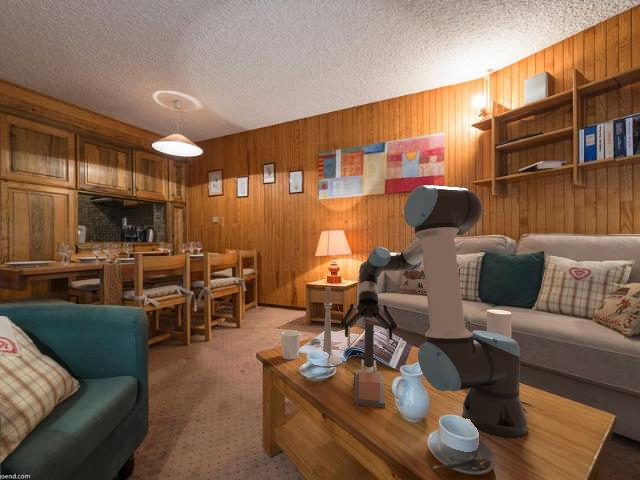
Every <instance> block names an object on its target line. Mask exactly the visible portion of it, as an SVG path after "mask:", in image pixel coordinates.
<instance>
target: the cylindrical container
mask: <svg viewBox="0 0 640 480" xmlns="http://www.w3.org/2000/svg"><path fill="white" fill-rule="evenodd" d="M512 317H513V314H512V312H510V311H508V310H503V309H492V308H491V309H486V331H487V332H492V333H496V334H500V335H504V336H507V337H509V338H512V331H513V329H512V321H513V320H512Z"/></svg>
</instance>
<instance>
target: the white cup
mask: <svg viewBox="0 0 640 480" xmlns="http://www.w3.org/2000/svg"><path fill="white" fill-rule="evenodd" d="M280 337H281V352H282V353H281V354H282V357H281V358H283V359H284V360H296V359H298V358H299V356H300V355H299V354H300V346H301V345H300V343H301V331H299V330H296V329H286V330H283V331H281V333H280Z"/></svg>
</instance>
